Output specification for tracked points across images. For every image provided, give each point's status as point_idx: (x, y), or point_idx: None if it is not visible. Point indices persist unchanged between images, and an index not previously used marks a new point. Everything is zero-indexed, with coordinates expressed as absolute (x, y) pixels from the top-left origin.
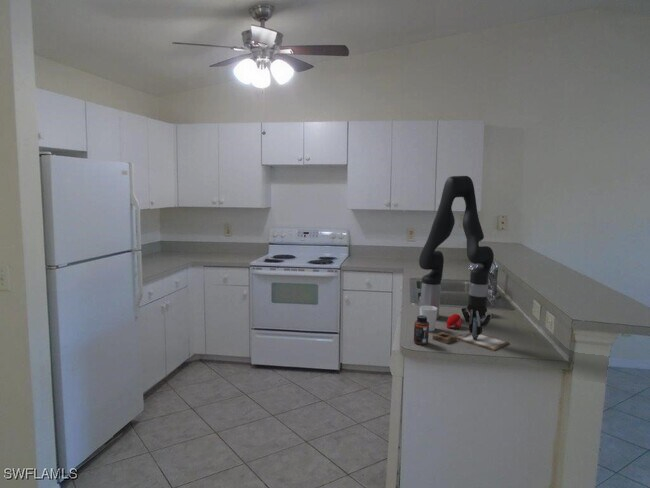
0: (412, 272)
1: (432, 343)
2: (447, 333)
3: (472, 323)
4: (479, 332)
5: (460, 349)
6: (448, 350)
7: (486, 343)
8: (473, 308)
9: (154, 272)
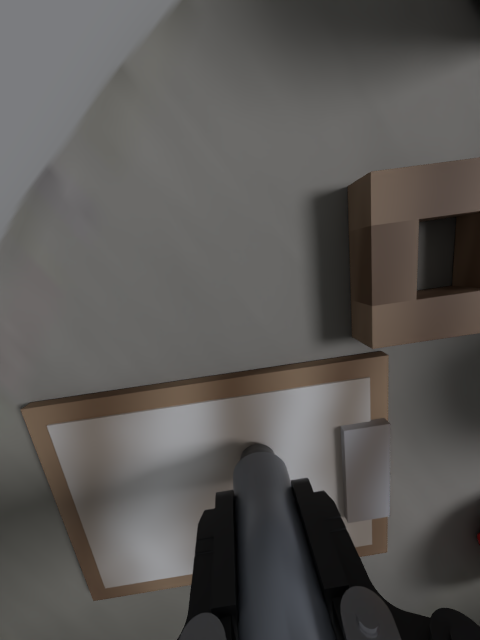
0: None
1: (439, 61)
2: (467, 333)
3: (340, 631)
4: (207, 526)
5: (183, 182)
6: (223, 39)
7: (147, 460)
8: None
9: None
